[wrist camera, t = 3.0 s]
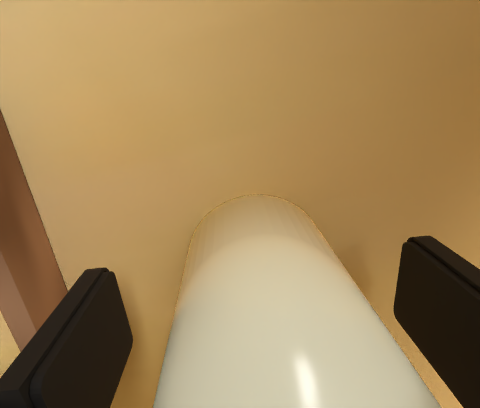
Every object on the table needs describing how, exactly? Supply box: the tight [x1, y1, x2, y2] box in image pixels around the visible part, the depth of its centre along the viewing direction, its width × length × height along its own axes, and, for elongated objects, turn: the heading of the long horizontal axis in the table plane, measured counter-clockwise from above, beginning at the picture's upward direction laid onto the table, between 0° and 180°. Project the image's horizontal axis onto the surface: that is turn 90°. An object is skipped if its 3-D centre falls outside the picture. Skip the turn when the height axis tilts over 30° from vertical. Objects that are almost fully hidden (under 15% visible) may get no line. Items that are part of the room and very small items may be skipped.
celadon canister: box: [153, 195, 441, 408], centre depth 7 cm, size 5×5×9 cm
